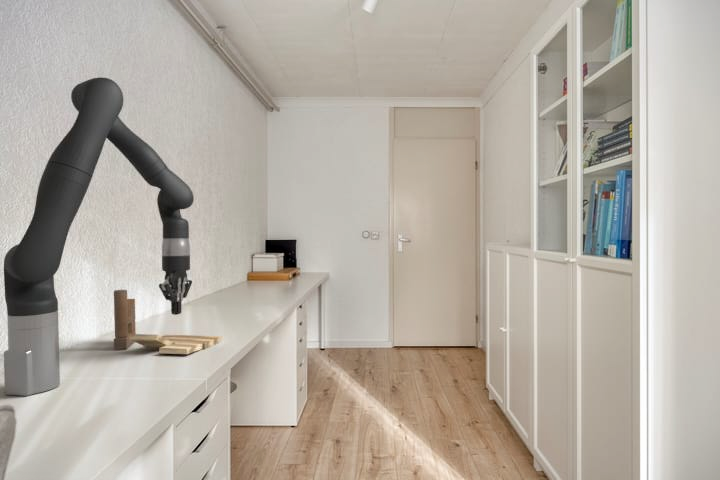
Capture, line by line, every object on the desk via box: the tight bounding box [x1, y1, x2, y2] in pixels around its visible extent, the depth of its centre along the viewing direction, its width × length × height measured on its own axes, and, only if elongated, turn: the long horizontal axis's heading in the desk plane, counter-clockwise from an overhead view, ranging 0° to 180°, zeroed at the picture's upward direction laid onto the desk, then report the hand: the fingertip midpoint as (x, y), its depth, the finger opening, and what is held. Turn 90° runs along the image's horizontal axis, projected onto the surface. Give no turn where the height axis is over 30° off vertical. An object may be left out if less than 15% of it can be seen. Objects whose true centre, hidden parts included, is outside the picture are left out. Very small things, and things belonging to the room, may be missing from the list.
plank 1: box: [129, 333, 172, 348], centre depth 131 cm, size 8×9×2 cm
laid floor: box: [148, 334, 222, 350], centre depth 139 cm, size 10×20×2 cm, turn 79°
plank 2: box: [158, 343, 203, 355], centre depth 129 cm, size 8×9×2 cm
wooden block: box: [113, 289, 137, 351], centre depth 138 cm, size 4×11×18 cm, turn 13°
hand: (176, 314), depth 127 cm, fingers closed
